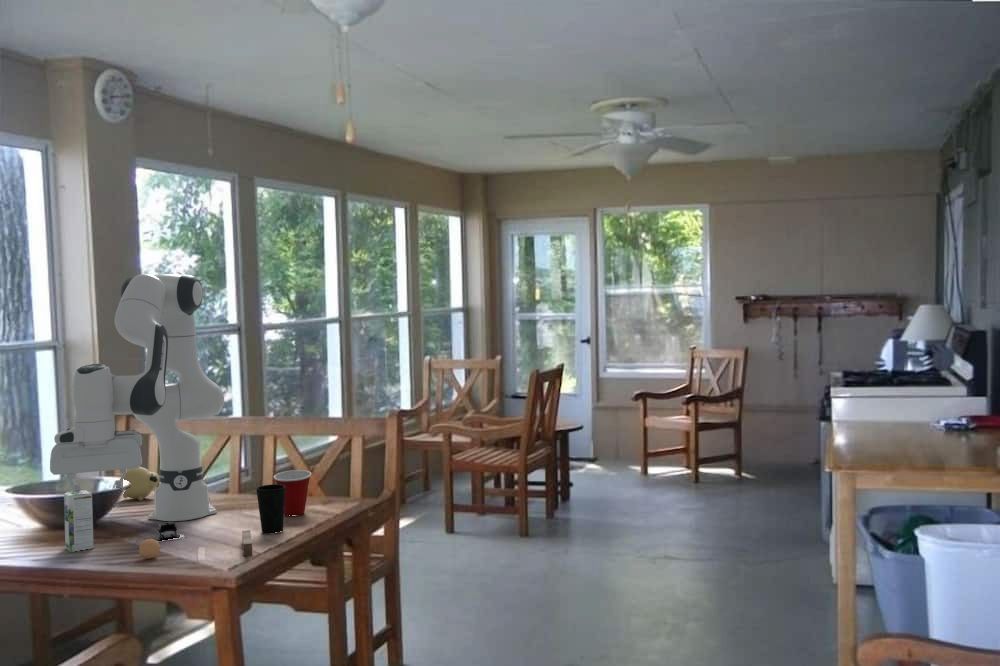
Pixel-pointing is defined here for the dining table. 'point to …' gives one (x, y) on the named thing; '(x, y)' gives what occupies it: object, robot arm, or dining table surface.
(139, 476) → the pale yellow round toy
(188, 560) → the dining table surface
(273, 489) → the cup
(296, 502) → the plastic cup
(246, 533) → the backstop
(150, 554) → the ball
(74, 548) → the syrup box
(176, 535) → the black rectangular container
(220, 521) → the dining table surface
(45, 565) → the dining table surface
